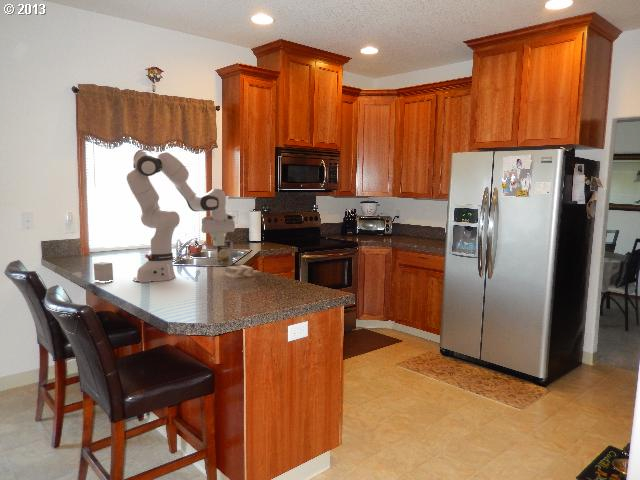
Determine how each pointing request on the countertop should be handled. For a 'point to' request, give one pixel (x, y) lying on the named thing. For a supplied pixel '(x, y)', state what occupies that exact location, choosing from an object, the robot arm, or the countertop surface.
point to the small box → (103, 271)
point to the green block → (218, 239)
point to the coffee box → (225, 253)
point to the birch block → (239, 271)
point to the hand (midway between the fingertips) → (218, 240)
